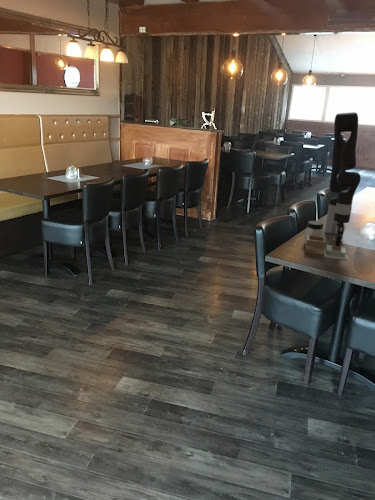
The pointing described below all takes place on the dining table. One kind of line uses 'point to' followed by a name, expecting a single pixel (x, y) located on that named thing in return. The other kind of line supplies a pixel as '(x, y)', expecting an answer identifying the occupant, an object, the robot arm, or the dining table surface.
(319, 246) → the box
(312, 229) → the jar
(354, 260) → the dining table surface
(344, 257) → the mat
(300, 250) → the dining table surface
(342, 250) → the lid
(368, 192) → the dining table surface
